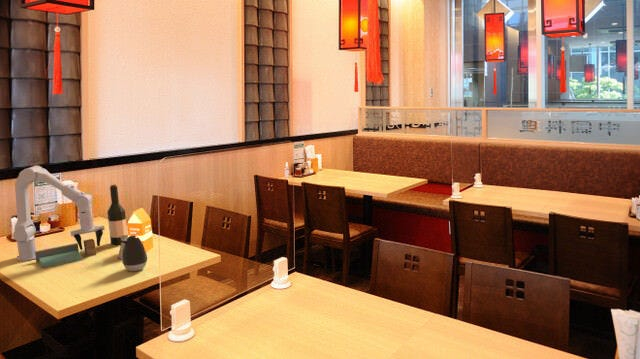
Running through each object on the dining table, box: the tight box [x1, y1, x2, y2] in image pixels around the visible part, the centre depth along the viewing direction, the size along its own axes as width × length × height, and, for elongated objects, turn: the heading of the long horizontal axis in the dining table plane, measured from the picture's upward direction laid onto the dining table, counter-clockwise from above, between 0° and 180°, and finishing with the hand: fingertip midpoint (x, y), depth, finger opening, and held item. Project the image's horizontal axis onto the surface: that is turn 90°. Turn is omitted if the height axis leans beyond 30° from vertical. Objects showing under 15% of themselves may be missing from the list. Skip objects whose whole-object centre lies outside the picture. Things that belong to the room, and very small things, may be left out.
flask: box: [117, 235, 128, 260], centre depth 237 cm, size 7×7×10 cm
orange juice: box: [126, 207, 154, 253], centre depth 245 cm, size 8×9×20 cm
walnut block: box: [83, 238, 97, 257], centre depth 242 cm, size 4×4×7 cm
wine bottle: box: [107, 184, 128, 247], centre depth 256 cm, size 8×8×30 cm
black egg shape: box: [121, 235, 148, 272], centre depth 220 cm, size 10×10×15 cm
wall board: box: [35, 242, 83, 269], centre depth 235 cm, size 12×18×5 cm, turn 127°
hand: (89, 247), depth 242 cm, fingers open, 7 cm apart
